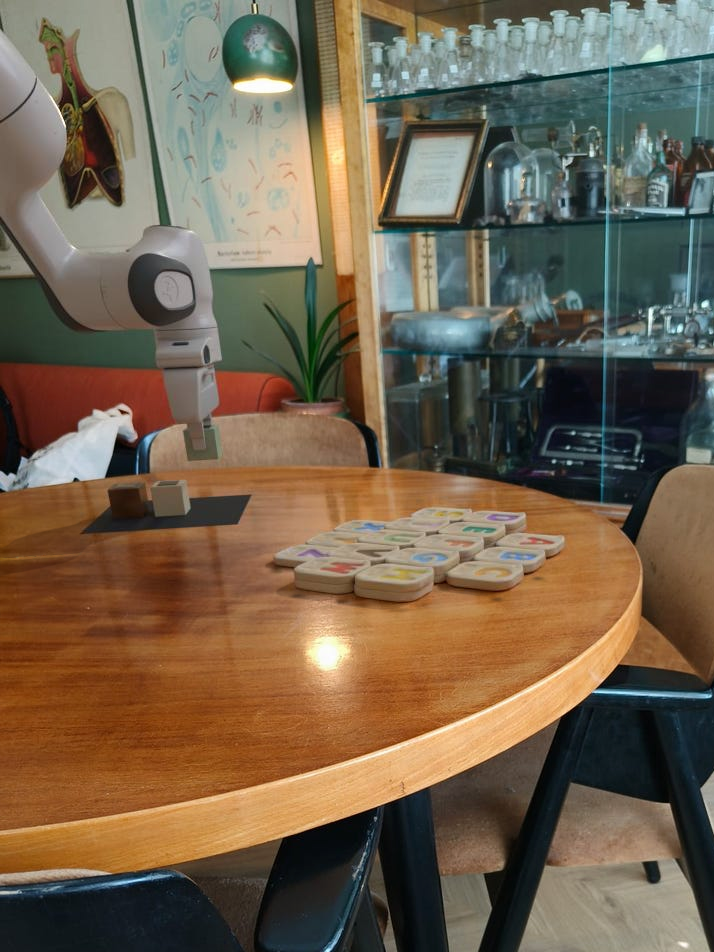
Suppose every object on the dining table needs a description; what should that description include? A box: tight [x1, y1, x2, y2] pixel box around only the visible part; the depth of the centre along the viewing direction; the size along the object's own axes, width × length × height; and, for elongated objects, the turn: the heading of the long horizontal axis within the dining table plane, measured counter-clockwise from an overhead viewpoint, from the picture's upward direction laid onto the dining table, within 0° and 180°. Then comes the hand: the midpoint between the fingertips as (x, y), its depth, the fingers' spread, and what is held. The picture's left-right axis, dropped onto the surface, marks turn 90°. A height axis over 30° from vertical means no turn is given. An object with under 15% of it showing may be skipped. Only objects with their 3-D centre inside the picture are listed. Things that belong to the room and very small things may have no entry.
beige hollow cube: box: [150, 479, 191, 517], centre depth 135 cm, size 4×4×5 cm
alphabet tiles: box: [272, 506, 566, 603], centre depth 111 cm, size 33×33×2 cm
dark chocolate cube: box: [107, 481, 150, 519], centre depth 134 cm, size 4×4×5 cm
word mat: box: [79, 494, 253, 535], centre depth 136 cm, size 22×20×1 cm
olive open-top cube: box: [182, 423, 223, 462], centre depth 132 cm, size 4×4×5 cm
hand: (203, 446), depth 133 cm, fingers closed on olive open-top cube, 4 cm apart
